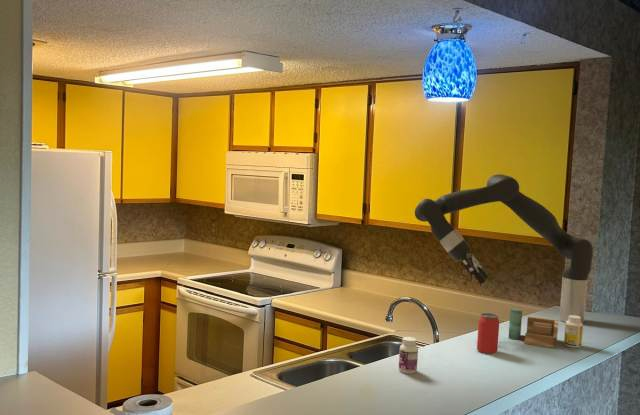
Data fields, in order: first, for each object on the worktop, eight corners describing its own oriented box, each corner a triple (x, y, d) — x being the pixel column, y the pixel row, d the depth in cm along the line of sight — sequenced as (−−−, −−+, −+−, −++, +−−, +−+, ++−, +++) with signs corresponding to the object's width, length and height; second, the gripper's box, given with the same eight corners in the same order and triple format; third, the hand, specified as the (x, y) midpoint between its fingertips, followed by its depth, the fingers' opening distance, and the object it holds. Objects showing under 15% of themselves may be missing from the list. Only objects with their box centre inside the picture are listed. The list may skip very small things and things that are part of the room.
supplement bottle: (576, 343, 220) (578, 314, 219) (584, 348, 214) (586, 318, 213) (560, 343, 219) (563, 314, 218) (568, 348, 214) (571, 318, 213)
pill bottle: (394, 368, 186) (396, 336, 185) (410, 367, 188) (412, 335, 187) (404, 375, 181) (406, 342, 180) (420, 373, 183) (422, 340, 182)
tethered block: (509, 335, 227) (511, 307, 226) (550, 340, 222) (552, 312, 221) (507, 339, 221) (509, 311, 220) (550, 345, 216) (552, 316, 215)
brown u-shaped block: (526, 335, 227) (527, 316, 226) (556, 339, 223) (558, 320, 223) (524, 343, 217) (526, 323, 216) (556, 348, 213) (557, 327, 213)
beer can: (472, 351, 206) (475, 314, 205) (482, 347, 211) (485, 311, 210) (491, 356, 202) (493, 319, 201) (501, 351, 206) (503, 315, 205)
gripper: (460, 240, 220) (491, 277, 217) (466, 236, 234) (495, 271, 231) (444, 254, 223) (474, 290, 220) (450, 249, 236) (479, 283, 233)
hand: (485, 280), depth 225 cm, fingers open, 8 cm apart
